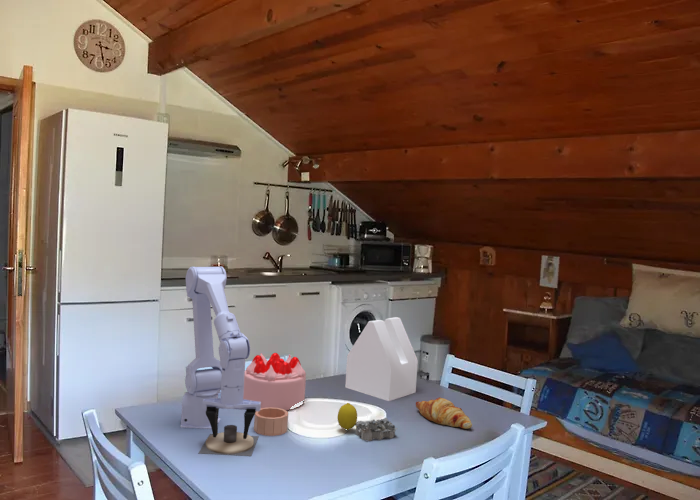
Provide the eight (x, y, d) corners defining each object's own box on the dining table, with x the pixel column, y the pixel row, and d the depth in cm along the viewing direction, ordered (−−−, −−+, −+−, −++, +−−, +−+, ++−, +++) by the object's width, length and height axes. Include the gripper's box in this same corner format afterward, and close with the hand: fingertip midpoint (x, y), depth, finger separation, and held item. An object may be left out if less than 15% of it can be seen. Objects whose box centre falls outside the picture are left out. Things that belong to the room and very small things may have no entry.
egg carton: (363, 443, 161) (363, 428, 161) (352, 432, 168) (353, 418, 168) (398, 439, 165) (399, 424, 165) (386, 429, 172) (387, 415, 172)
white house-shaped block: (345, 387, 210) (349, 317, 209) (372, 380, 222) (376, 313, 220) (388, 401, 198) (393, 326, 196) (415, 392, 209) (420, 322, 208)
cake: (257, 389, 202) (260, 347, 201) (313, 397, 197) (316, 354, 196) (231, 406, 184) (233, 360, 183) (292, 416, 178) (294, 369, 177)
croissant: (475, 440, 177) (485, 414, 179) (459, 431, 170) (469, 404, 172) (420, 418, 192) (429, 394, 194) (403, 409, 185) (412, 385, 187)
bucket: (251, 435, 161) (252, 417, 160) (256, 423, 170) (257, 406, 169) (285, 437, 161) (286, 419, 161) (288, 425, 170) (289, 408, 170)
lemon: (354, 435, 165) (356, 407, 165) (334, 433, 166) (336, 404, 166) (358, 428, 171) (359, 401, 170) (339, 426, 172) (340, 398, 171)
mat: (198, 454, 147) (198, 453, 147) (210, 435, 160) (210, 433, 160) (251, 457, 147) (251, 456, 147) (258, 437, 160) (258, 436, 160)
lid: (200, 452, 147) (201, 434, 147) (211, 434, 159) (212, 417, 159) (249, 455, 147) (250, 437, 147) (256, 436, 159) (257, 420, 159)
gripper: (200, 387, 148) (198, 441, 149) (259, 390, 148) (256, 444, 149) (206, 379, 155) (204, 430, 156) (262, 382, 155) (260, 433, 156)
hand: (230, 436), depth 153 cm, fingers open, 7 cm apart
